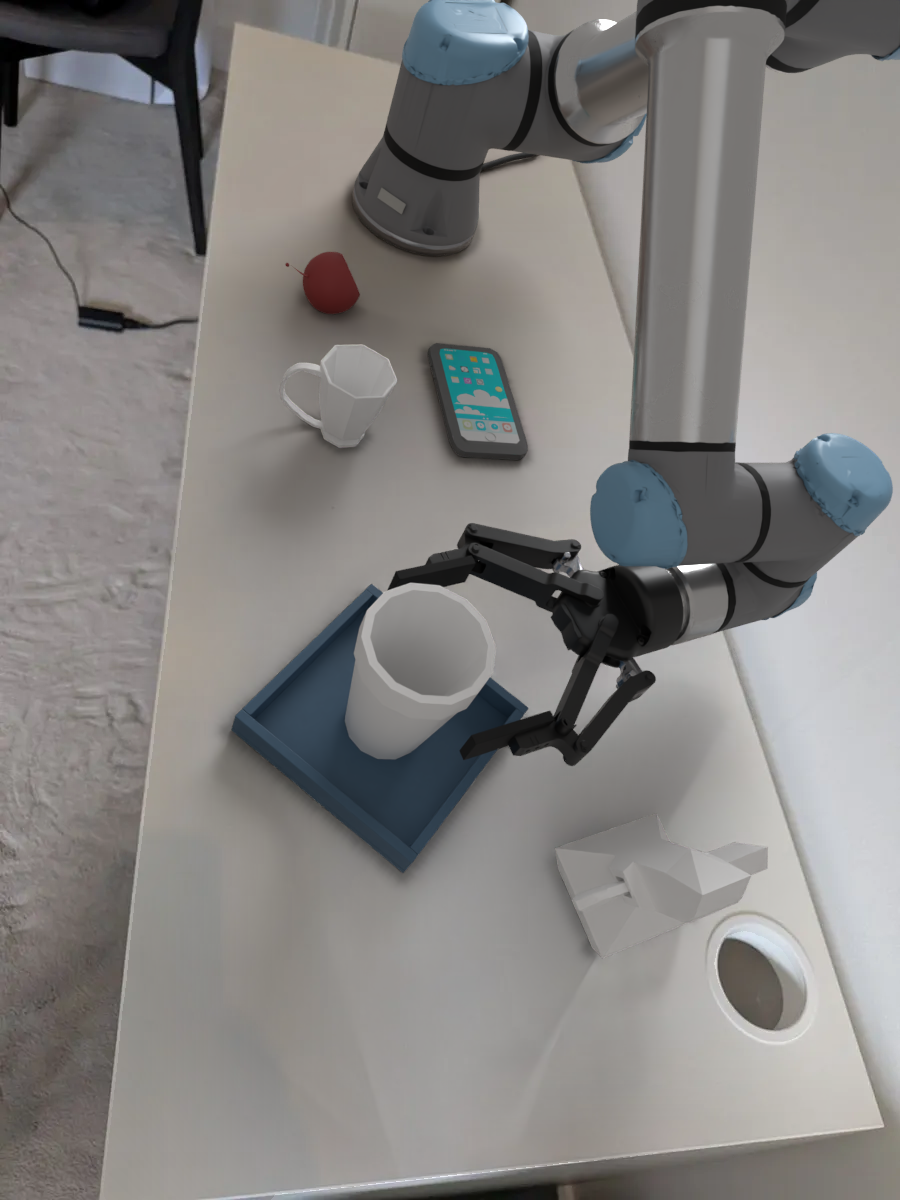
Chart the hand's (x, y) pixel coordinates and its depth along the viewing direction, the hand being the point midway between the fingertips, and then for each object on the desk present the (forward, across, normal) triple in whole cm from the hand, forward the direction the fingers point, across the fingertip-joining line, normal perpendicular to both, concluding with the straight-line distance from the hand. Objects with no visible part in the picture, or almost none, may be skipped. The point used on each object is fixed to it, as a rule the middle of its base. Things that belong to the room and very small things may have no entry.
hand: (428, 663), depth 65 cm
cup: (-5, +30, -10) cm, 32 cm away
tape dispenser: (-11, -19, -10) cm, 24 cm away
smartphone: (-22, +31, -10) cm, 39 cm away
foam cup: (+1, 0, -9) cm, 9 cm away
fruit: (-10, +47, -10) cm, 49 cm away
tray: (+1, 0, -10) cm, 10 cm away
